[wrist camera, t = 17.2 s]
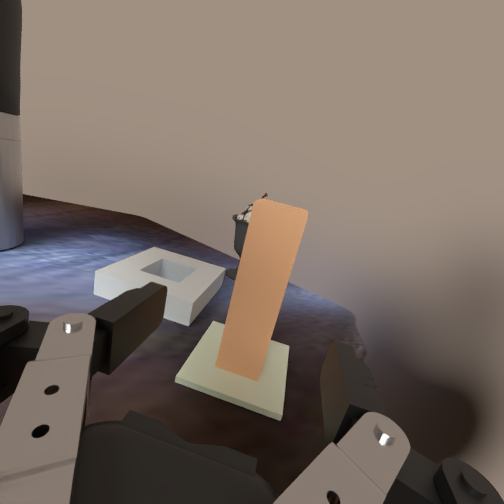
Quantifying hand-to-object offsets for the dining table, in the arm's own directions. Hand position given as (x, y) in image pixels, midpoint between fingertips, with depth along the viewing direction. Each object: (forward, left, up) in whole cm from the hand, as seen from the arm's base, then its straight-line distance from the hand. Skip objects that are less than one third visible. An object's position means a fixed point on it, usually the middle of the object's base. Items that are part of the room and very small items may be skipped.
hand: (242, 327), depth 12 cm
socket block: (-19, +14, -11) cm, 26 cm away
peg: (-4, +10, -10) cm, 14 cm away
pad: (-4, +10, -11) cm, 15 cm away
